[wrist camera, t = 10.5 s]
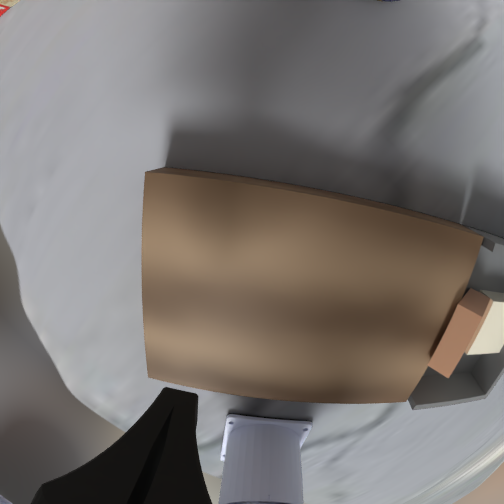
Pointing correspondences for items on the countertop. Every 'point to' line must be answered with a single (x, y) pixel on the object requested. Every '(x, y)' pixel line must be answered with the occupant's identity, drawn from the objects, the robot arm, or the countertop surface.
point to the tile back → (489, 327)
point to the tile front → (459, 332)
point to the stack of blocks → (6, 5)
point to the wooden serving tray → (294, 288)
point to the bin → (469, 366)
